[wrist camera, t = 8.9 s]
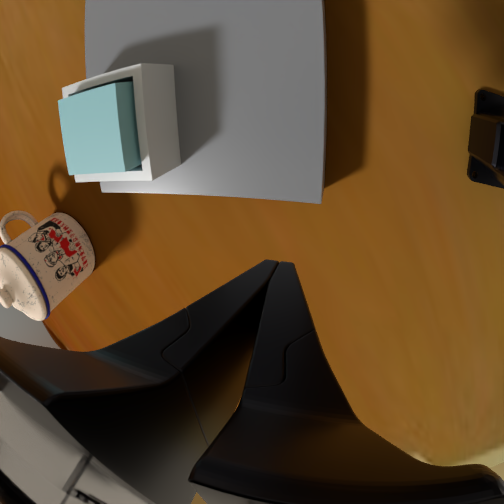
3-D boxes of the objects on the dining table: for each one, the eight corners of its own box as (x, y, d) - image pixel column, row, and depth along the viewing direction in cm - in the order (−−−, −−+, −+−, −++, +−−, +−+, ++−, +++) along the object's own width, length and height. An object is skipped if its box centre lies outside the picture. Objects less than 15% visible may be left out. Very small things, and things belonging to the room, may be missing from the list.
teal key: (147, 80, 15) (115, 82, 13) (154, 158, 18) (125, 172, 15) (90, 94, 16) (58, 100, 14) (98, 161, 19) (69, 175, 16)
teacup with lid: (110, 259, 30) (37, 327, 21) (80, 286, 35) (22, 343, 25) (50, 174, 27) (-33, 220, 17) (29, 215, 32) (-36, 259, 22)
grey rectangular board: (313, -96, 9) (298, -143, 3) (323, 188, 20) (315, 228, 15) (113, -50, 13) (61, -64, 8) (123, 180, 25) (72, 209, 19)
